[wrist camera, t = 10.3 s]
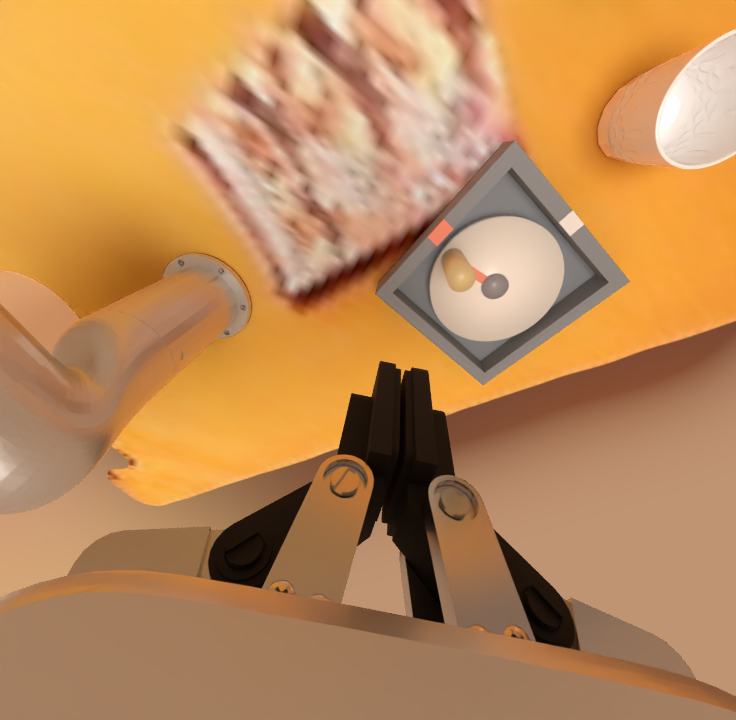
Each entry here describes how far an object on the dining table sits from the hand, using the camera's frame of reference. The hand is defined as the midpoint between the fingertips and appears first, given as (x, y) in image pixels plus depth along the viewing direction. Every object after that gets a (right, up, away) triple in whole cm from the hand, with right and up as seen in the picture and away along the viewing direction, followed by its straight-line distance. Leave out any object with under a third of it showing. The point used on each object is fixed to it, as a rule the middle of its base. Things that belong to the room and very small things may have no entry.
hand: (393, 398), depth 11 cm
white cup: (+25, +25, +19) cm, 40 cm away
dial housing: (+14, +12, +29) cm, 34 cm away
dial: (+14, +11, +27) cm, 33 cm away
